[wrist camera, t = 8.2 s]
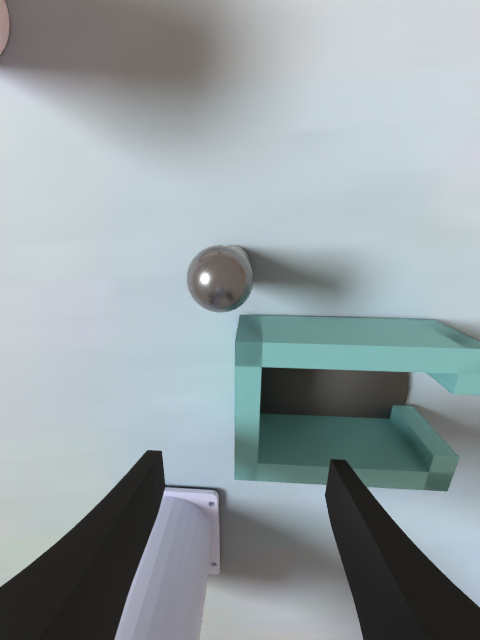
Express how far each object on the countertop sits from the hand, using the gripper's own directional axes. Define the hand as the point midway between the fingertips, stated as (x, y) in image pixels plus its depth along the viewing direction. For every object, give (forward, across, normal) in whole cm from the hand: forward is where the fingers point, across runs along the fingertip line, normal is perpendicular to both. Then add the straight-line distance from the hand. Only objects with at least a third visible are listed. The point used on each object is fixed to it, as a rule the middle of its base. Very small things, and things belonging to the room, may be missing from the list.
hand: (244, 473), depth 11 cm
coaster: (+6, -5, 0) cm, 8 cm away
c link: (+6, -5, -1) cm, 8 cm away
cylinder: (+6, +1, -8) cm, 10 cm away
